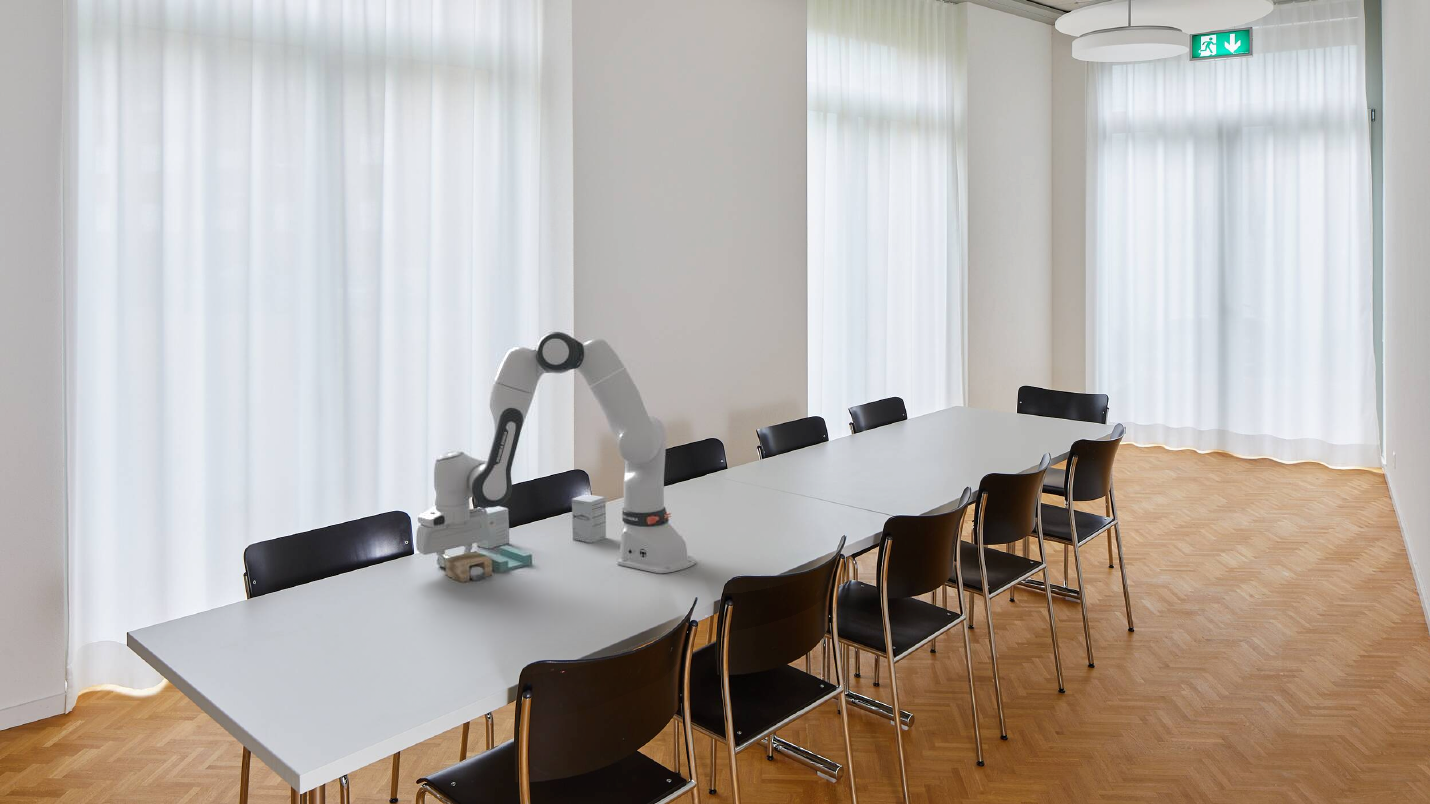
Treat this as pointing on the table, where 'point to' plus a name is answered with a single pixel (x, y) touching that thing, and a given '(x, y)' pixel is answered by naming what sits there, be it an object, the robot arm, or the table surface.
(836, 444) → the table surface
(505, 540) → the small box
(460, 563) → the wooden bridge block
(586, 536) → the supplement box
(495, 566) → the cradle
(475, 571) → the axle
